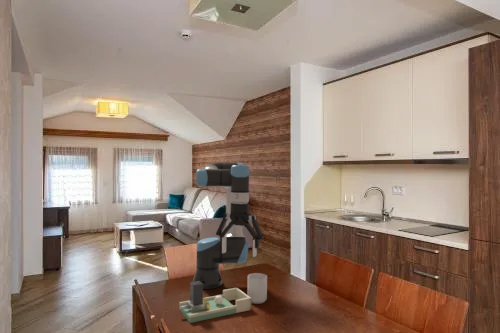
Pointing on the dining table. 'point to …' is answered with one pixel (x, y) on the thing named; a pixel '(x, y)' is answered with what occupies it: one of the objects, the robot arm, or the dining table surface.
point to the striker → (196, 298)
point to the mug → (257, 287)
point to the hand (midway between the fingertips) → (239, 254)
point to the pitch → (220, 306)
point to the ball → (218, 300)
